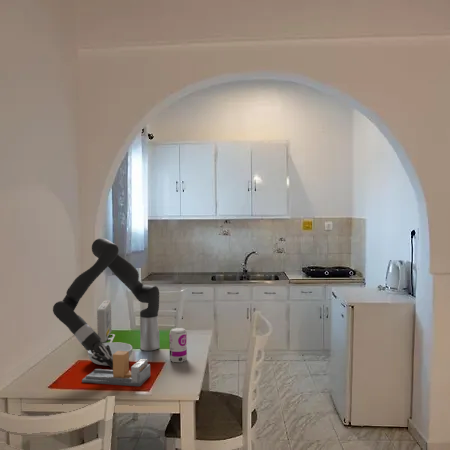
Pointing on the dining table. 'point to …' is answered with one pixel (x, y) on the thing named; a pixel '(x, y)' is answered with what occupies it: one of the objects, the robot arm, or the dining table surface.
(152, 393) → the dining table surface
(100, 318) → the network device
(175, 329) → the supplement can
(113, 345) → the serving bowl
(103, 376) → the rail
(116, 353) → the block
